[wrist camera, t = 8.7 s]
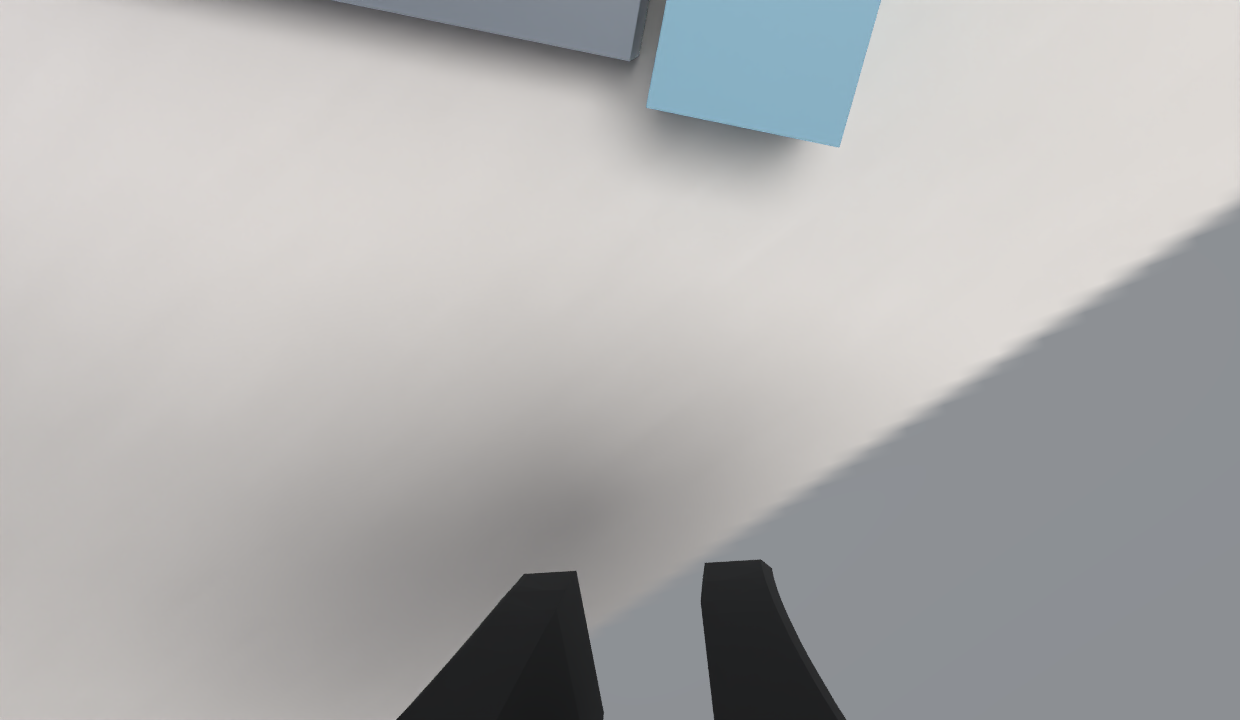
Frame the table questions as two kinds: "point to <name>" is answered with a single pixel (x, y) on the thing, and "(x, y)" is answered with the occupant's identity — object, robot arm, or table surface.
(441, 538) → the table surface
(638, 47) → the grey holder tray
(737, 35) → the light blue rectangular block
